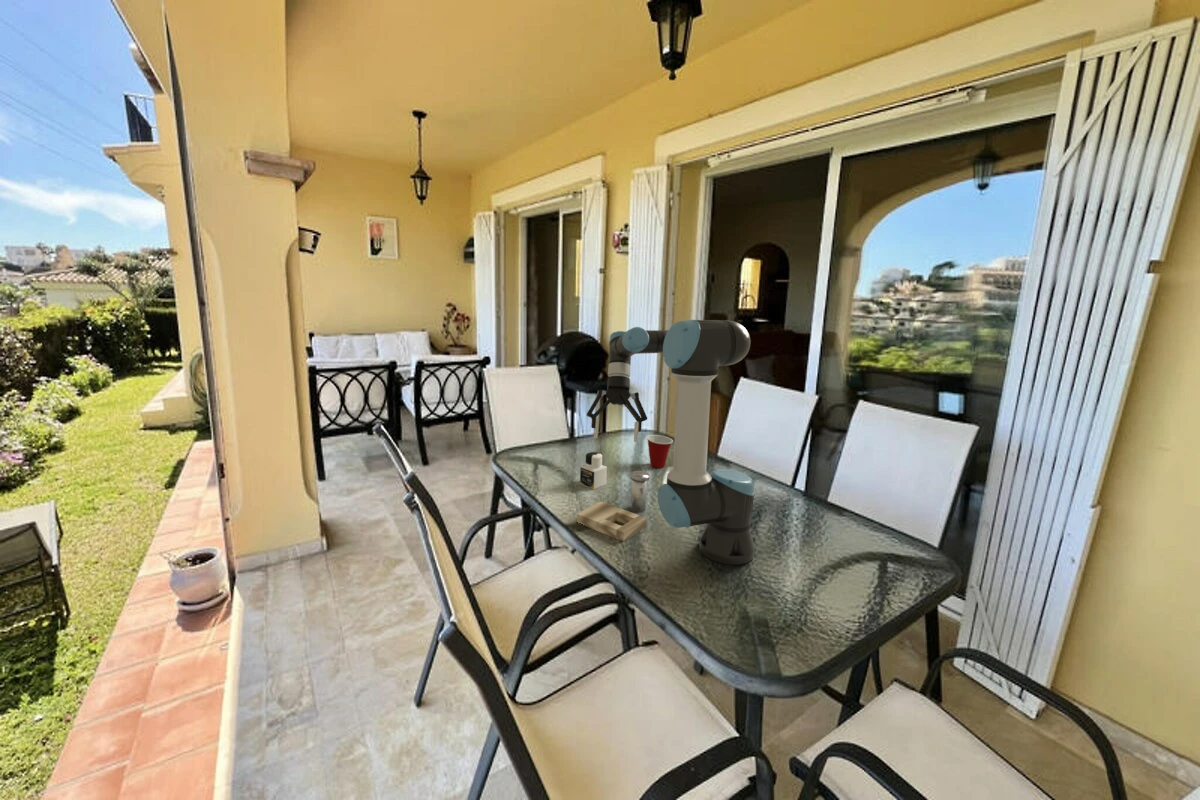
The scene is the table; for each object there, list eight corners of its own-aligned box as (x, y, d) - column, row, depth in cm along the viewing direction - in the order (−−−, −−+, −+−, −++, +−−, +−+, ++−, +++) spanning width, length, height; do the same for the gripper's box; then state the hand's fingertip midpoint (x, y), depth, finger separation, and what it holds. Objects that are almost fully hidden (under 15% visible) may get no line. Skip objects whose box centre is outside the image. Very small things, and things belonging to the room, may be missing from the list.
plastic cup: (673, 471, 201) (675, 442, 198) (646, 470, 201) (647, 441, 198) (669, 461, 211) (671, 434, 208) (644, 460, 211) (645, 433, 209)
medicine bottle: (579, 484, 185) (580, 453, 182) (592, 479, 190) (593, 449, 187) (593, 489, 180) (594, 458, 178) (606, 484, 185) (607, 453, 183)
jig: (646, 526, 154) (646, 517, 153) (623, 541, 145) (624, 532, 144) (600, 509, 165) (600, 501, 164) (576, 522, 156) (576, 513, 155)
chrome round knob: (651, 508, 167) (653, 474, 164) (640, 514, 162) (642, 479, 159) (635, 502, 171) (637, 469, 168) (624, 509, 166) (626, 474, 163)
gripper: (651, 383, 174) (649, 443, 170) (580, 376, 170) (577, 438, 166) (657, 378, 167) (655, 441, 163) (583, 371, 163) (579, 435, 159)
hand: (615, 440), depth 165 cm, fingers open, 13 cm apart
